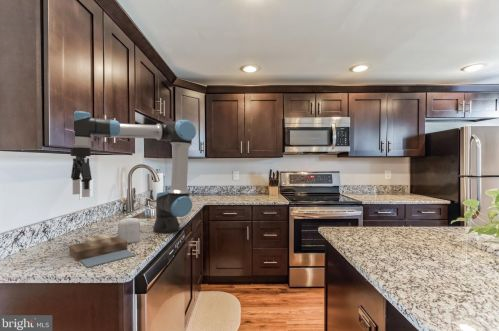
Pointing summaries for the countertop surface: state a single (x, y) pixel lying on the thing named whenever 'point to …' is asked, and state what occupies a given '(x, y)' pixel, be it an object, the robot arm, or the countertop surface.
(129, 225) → the photo printer
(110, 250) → the board
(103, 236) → the birch tile
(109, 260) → the rubber mat
